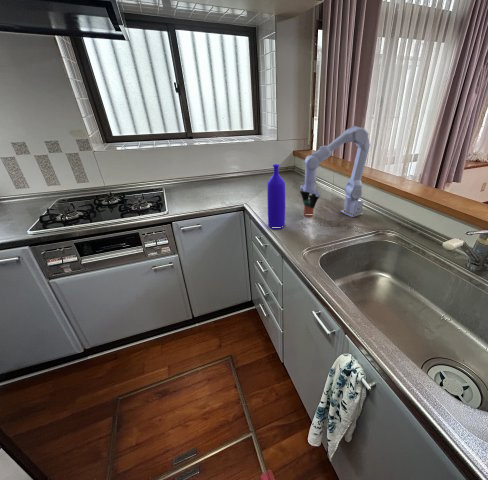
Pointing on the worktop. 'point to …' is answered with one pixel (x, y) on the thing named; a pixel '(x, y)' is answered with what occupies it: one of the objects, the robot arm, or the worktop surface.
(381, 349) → the worktop surface
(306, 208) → the jar
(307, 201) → the jar lid
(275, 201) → the bottle
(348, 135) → the robot arm
